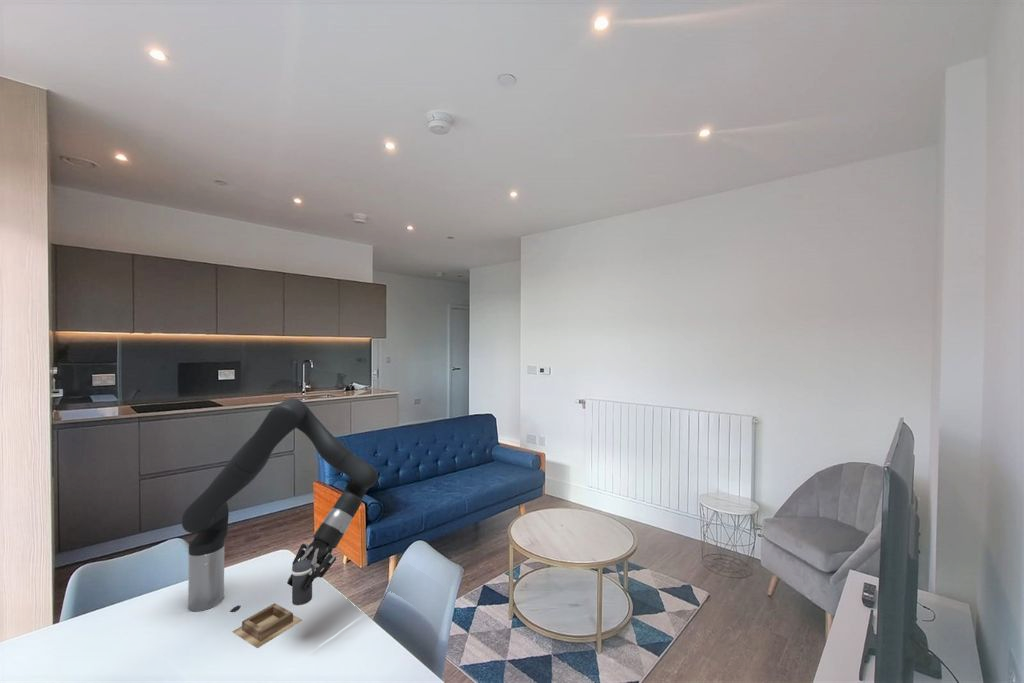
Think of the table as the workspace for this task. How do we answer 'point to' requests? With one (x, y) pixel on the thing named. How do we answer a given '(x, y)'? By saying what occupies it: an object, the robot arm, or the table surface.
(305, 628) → the table surface
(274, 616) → the tiered wooden square base
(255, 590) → the table surface
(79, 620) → the table surface
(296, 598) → the dark grey banded cylinder
